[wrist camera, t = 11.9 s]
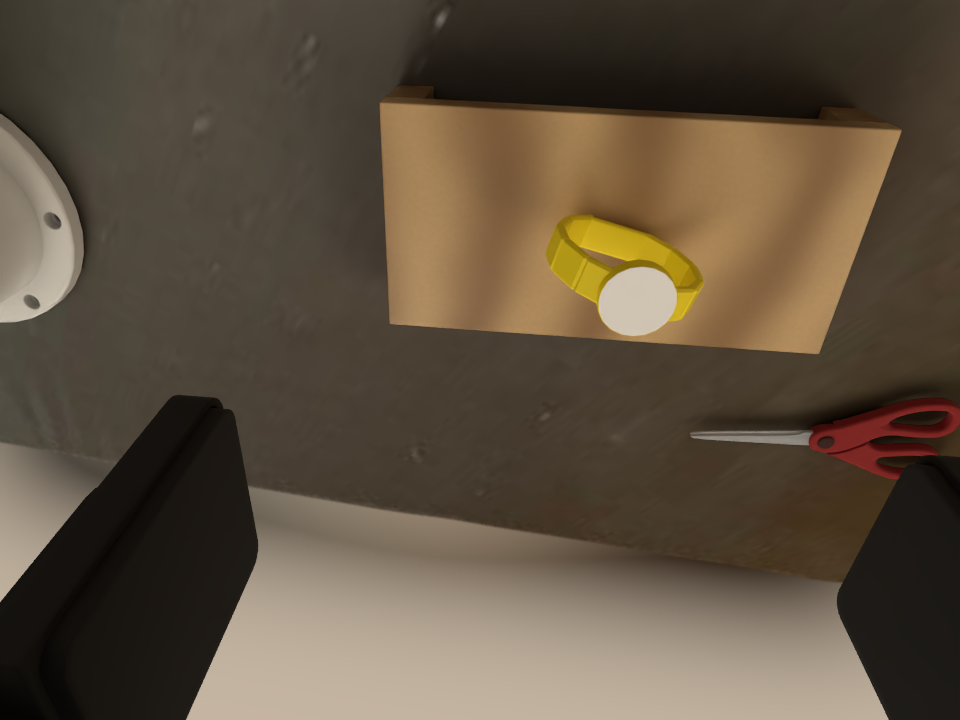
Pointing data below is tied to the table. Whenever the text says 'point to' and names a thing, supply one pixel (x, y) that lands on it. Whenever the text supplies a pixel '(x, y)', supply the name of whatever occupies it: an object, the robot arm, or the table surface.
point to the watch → (624, 273)
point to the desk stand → (625, 213)
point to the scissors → (859, 434)
